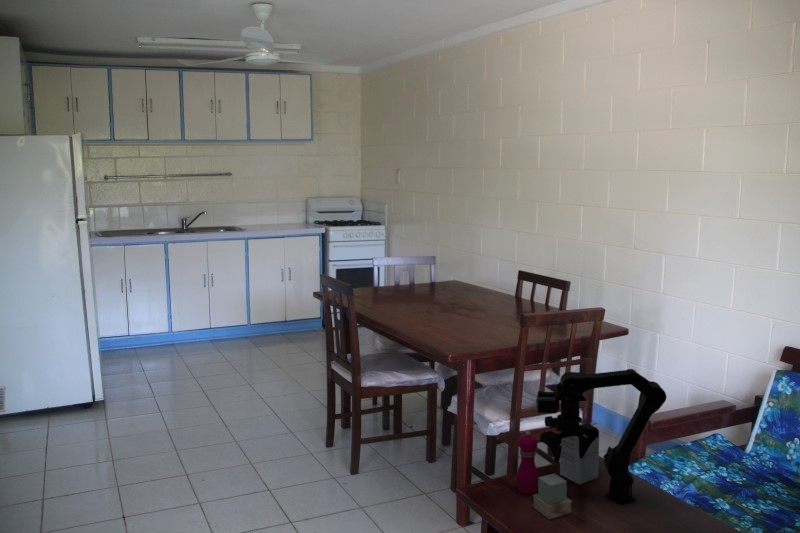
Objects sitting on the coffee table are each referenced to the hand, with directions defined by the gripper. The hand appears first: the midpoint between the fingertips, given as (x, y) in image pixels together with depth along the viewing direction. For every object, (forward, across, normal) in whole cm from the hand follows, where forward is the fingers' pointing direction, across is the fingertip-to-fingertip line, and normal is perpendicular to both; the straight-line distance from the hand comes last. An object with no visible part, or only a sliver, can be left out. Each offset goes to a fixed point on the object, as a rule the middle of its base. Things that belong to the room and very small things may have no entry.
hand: (569, 460), depth 212 cm
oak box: (+12, +10, +5) cm, 16 cm away
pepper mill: (+12, +9, -10) cm, 18 cm away
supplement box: (+12, -12, -10) cm, 20 cm away
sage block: (+8, +10, +5) cm, 14 cm away
